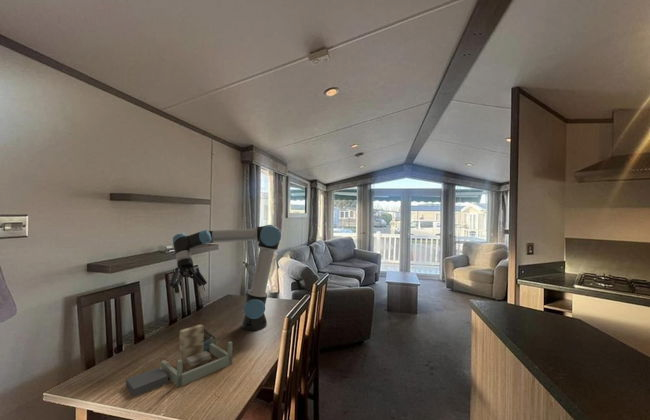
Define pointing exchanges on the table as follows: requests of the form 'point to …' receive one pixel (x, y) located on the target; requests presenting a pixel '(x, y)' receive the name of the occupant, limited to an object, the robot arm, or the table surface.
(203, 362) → the offcut stack
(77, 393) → the table surface
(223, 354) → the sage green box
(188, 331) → the birch block
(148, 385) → the rubber block
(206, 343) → the beverage carton
